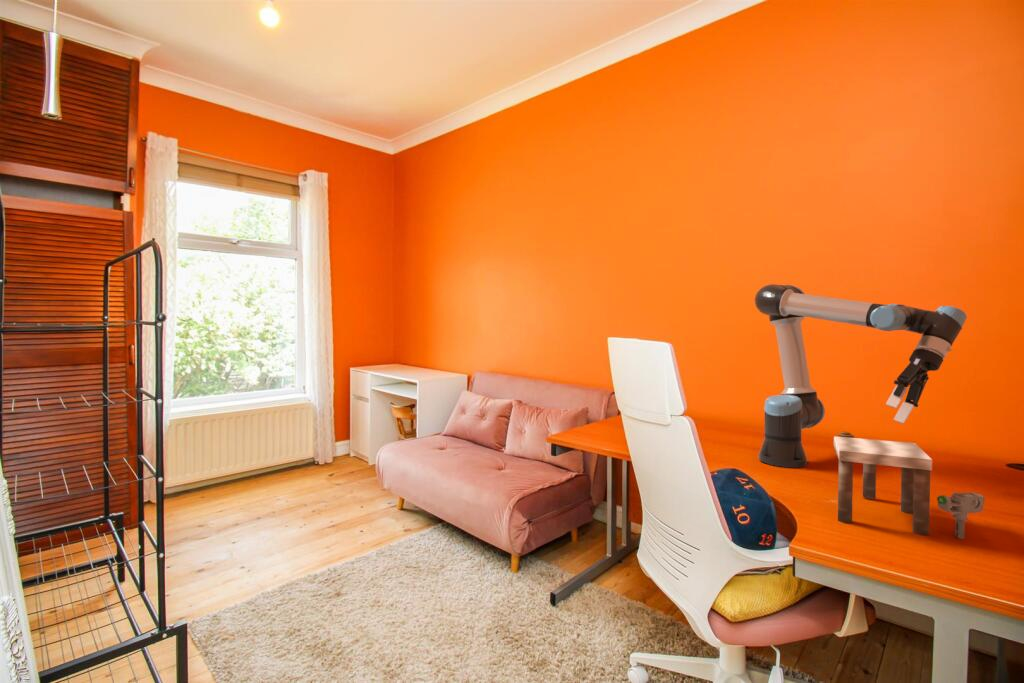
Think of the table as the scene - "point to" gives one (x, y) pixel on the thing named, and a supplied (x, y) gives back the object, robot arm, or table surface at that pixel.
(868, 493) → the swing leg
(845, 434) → the ornamental finial
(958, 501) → the mechanical component
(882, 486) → the table surface
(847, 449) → the stool
